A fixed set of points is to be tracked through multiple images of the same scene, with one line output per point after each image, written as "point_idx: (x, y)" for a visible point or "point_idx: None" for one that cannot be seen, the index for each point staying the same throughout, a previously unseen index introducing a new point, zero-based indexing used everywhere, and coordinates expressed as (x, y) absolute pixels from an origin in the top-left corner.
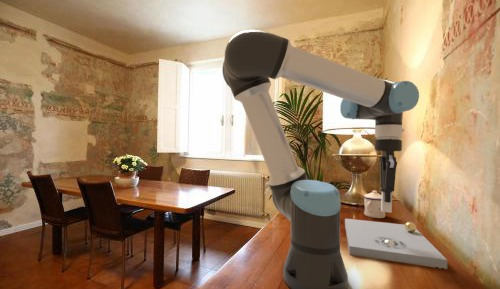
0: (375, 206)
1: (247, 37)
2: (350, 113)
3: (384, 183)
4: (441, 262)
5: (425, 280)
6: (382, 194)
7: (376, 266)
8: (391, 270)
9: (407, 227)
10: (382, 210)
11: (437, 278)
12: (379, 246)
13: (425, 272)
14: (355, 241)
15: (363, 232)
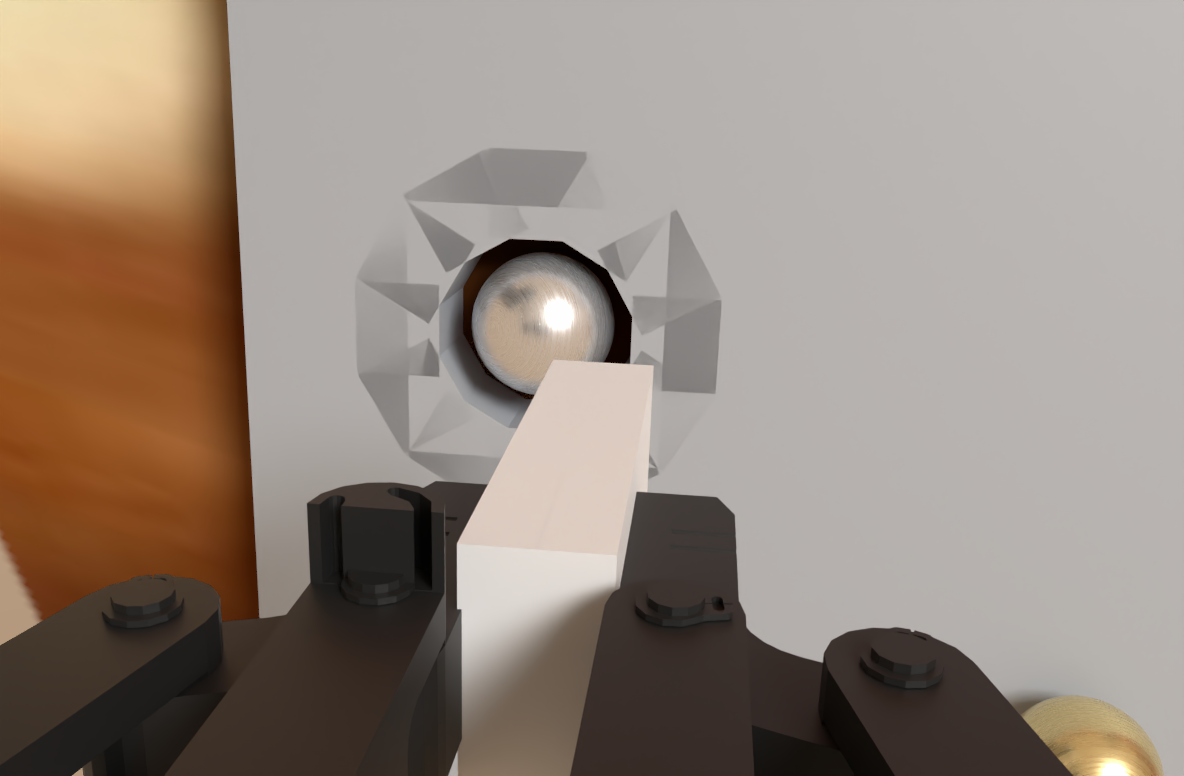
0: None
1: None
2: None
3: (207, 733)
4: None
5: (11, 446)
6: (482, 504)
7: (87, 72)
8: (66, 205)
9: (1034, 725)
10: (550, 374)
11: (91, 556)
12: (360, 175)
13: (161, 503)
14: None
15: (851, 45)
